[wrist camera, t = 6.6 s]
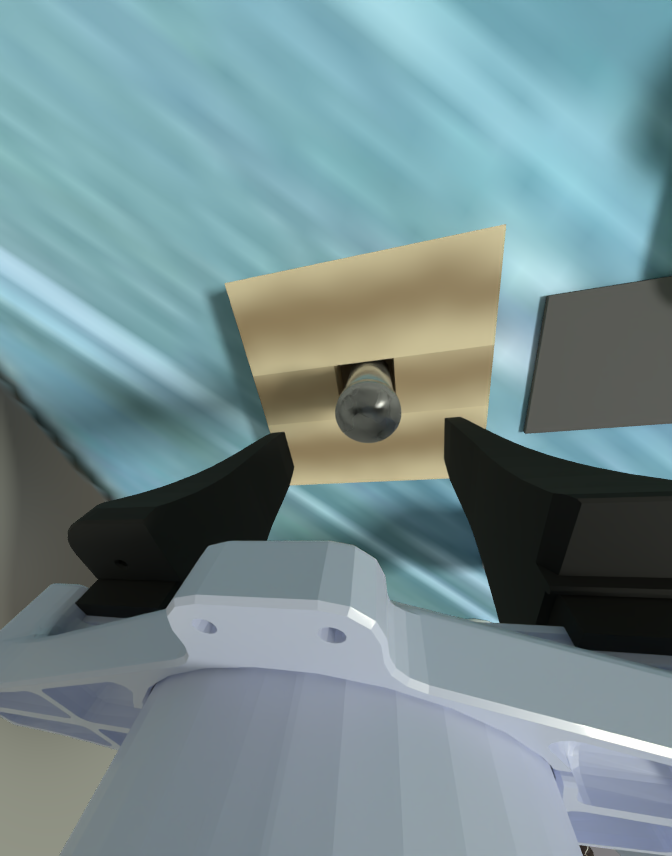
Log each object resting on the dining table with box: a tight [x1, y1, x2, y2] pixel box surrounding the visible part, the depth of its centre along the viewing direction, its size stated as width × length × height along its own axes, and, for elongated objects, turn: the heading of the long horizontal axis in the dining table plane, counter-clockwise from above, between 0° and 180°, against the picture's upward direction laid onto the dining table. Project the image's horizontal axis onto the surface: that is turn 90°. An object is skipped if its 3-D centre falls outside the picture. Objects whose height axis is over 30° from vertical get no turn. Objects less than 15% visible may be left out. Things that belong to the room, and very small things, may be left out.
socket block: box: [225, 224, 506, 485], centre depth 20 cm, size 16×16×3 cm
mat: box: [524, 276, 672, 434], centre depth 18 cm, size 10×10×1 cm
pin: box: [335, 359, 401, 443], centre depth 17 cm, size 3×3×8 cm
